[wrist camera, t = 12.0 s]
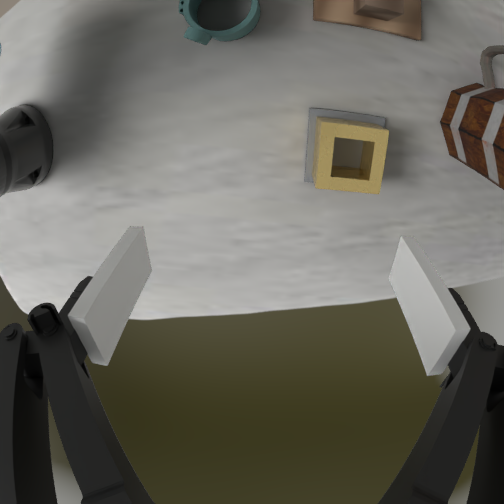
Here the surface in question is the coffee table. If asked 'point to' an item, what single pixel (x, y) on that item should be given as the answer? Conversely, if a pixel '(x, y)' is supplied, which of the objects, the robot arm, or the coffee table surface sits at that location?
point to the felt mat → (338, 140)
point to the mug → (478, 123)
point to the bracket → (198, 34)
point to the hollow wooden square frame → (347, 177)
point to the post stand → (373, 15)
